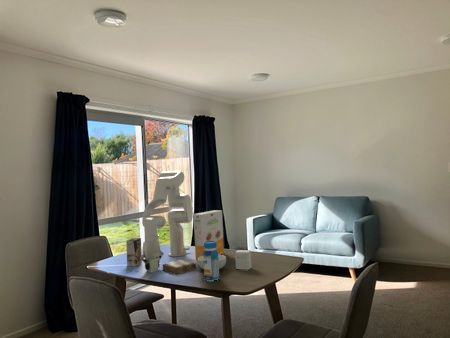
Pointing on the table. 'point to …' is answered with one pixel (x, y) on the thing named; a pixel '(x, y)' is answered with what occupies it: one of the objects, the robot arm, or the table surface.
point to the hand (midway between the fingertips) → (152, 268)
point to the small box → (243, 259)
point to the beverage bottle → (210, 261)
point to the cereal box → (208, 231)
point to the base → (179, 266)
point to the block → (153, 264)
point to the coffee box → (134, 251)
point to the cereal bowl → (221, 261)
